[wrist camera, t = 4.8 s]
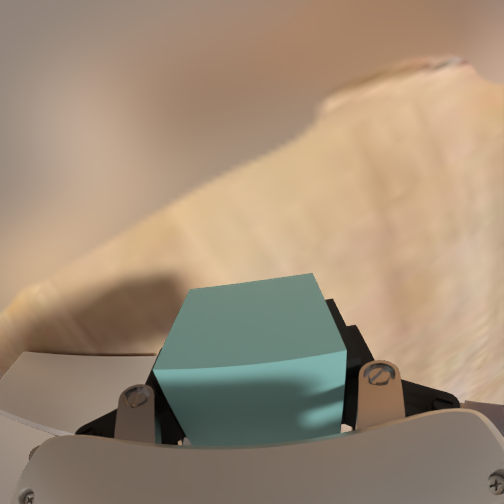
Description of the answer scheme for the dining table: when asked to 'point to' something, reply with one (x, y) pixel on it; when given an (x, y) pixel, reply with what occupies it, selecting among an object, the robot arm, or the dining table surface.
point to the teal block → (254, 364)
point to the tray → (67, 388)
